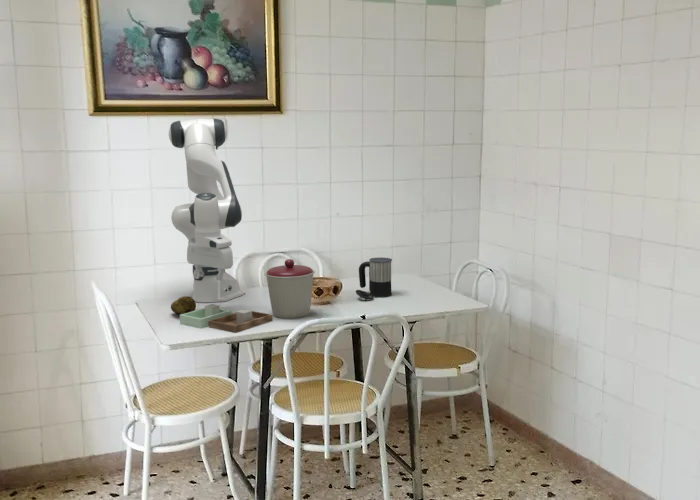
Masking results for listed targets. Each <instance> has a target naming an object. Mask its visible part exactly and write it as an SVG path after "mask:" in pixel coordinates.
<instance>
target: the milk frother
mask: <svg viewBox="0 0 700 500" xmlns="http://www.w3.org/2000/svg"><path fill="white" fill-rule="evenodd" d="M392 261H393V259H392V258H391V257H390V258H389V257H371V258H369V260H367V261H364V262H362V263H361V264H360V265H359V266H358V280H359V287H360V288H361V289H364V288H365V287H366V286H367V280H366V268H369V269H368V281H369V282H368V285H369V286H368V290H369V292H367V291H364V290H361V289H357V290H355V294H356V295H357V296H358V297H360V298H361V299H364V300H365V301H367V300H369V301H370V300H373V299H374V298H388V297H392V295H393V293H392Z"/></svg>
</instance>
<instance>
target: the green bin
mask: <svg viewBox="0 0 700 500" xmlns="http://www.w3.org/2000/svg"><path fill="white" fill-rule="evenodd" d="M230 314H232V310H229V309H223V308H220V313H218V314H215V315H211V316H208V317H205V310H204V307H203V308H200V309H195V310H194V311H192V312H188V313H185V314H181V315H179V324H180V325H184V326H187V327H193V328H197V329H204V328H207V327H208V328H209V322H208V321H210V320H213V319H217V318H220V317H223V316H227V315H230Z"/></svg>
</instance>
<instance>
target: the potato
mask: <svg viewBox="0 0 700 500" xmlns="http://www.w3.org/2000/svg"><path fill="white" fill-rule="evenodd" d="M196 308H197V303H196V302H195V301H194V299H193V298H192V297H191V296H189V295H188V296H181V297H178V298H177V299H175V300H174V301H173V302H172V303H171V304H170V309H171V311H172V313H174V314H178V315H179V316H180V315H181V314H185V313H188V312H192V311H196V310H197V309H196Z"/></svg>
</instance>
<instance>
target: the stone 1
mask: <svg viewBox="0 0 700 500" xmlns="http://www.w3.org/2000/svg"><path fill="white" fill-rule="evenodd" d="M203 308H204V310H205V317H208V316H211V315H215V314H218V313H220V309H221V306H220V305H218V304H215V303H212V304H208V305H204V307H203Z"/></svg>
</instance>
